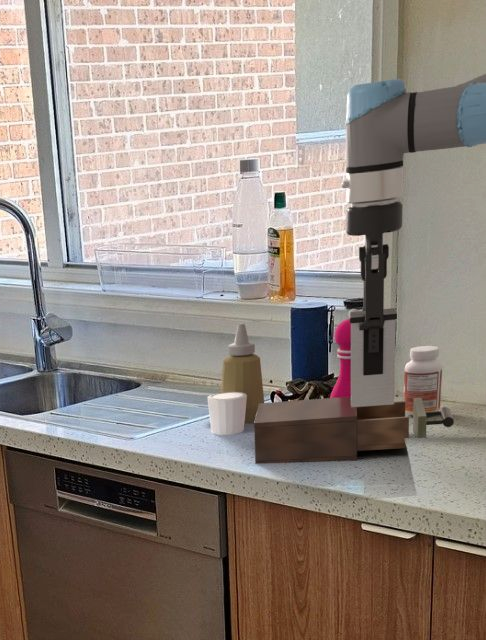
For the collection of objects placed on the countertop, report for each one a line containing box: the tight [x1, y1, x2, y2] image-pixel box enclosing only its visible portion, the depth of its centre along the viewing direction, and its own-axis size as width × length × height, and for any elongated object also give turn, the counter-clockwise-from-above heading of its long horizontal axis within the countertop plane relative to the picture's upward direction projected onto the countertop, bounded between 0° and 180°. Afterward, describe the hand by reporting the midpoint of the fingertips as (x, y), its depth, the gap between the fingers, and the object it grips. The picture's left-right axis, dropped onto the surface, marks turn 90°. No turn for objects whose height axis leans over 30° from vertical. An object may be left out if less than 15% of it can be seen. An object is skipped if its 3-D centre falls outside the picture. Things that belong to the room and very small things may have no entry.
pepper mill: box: [329, 308, 359, 398], centre depth 208 cm, size 7×7×20 cm
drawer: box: [356, 398, 455, 452], centre depth 196 cm, size 19×13×5 cm
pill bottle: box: [402, 345, 443, 416], centre depth 213 cm, size 6×6×11 cm
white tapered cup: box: [207, 392, 247, 436], centre depth 218 cm, size 7×7×7 cm
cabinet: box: [253, 397, 358, 465], centre depth 199 cm, size 16×15×7 cm
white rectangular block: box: [348, 307, 398, 407], centre depth 179 cm, size 6×5×13 cm
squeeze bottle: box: [220, 322, 265, 425], centre depth 222 cm, size 8×8×18 cm
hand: (372, 370), depth 180 cm, fingers closed on white rectangular block, 5 cm apart
